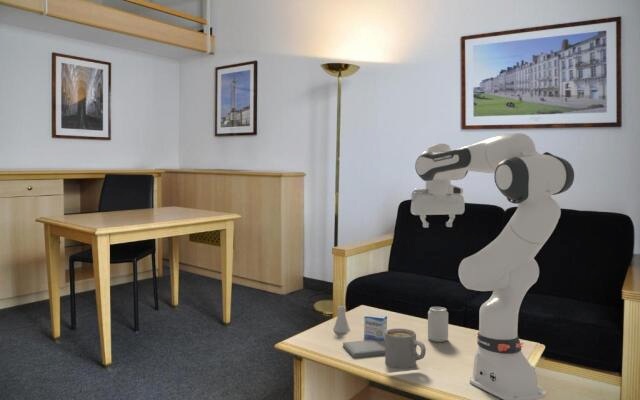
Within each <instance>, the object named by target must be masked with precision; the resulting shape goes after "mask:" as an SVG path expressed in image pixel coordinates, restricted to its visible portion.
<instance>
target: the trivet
mask: <svg viewBox="0 0 640 400" xmlns="http://www.w3.org/2000/svg"><path fill="white" fill-rule="evenodd" d="M342 347H343V348H344V349H345V350H346V352H347V353H348V354H350V355H351V356H352V357H353V358H355V359H357V358H365V357H366V358H367V357H374V356H385V346H383V345H382V344H380V343H379V342H378V341H377V340H376V339H369V340H359V341H358V340H357V341H346V342H345V341H344V342H343V343H342Z"/></svg>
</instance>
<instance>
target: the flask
mask: <svg viewBox="0 0 640 400" xmlns="http://www.w3.org/2000/svg"><path fill="white" fill-rule="evenodd" d="M346 308H347V307H346V306H341V305H340V306H337V310H338V311H337V312H338V313H337V318H336V319H335V323H334V327H333V328H332V330H333V332H334V333H338V334H348V333H350V332H351V328H350V327H349V326H350V325H349V324H348V321H347V317H346Z"/></svg>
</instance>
